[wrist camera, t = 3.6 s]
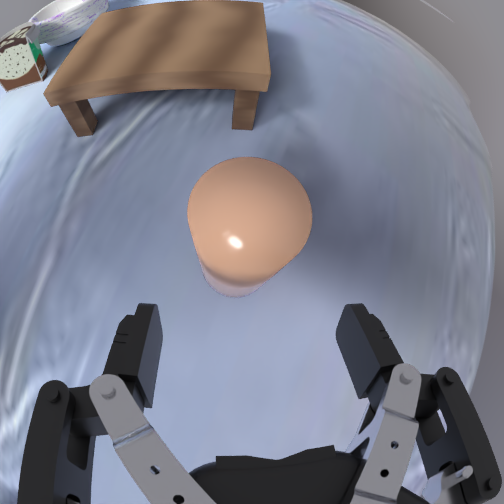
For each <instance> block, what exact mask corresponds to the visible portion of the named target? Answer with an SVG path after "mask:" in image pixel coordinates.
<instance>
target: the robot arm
mask: <svg viewBox="0 0 504 504" xmlns="http://www.w3.org/2000/svg"><path fill="white" fill-rule="evenodd" d="M162 340H163V334H162V327H161V322H160V316H159V311H158V306H157V304H145V303H139V304H138V306H137V309H136V312H135V315H126V317H125V318H124V319H123V320H122V321H121V322H120V323H119V326H118V329H117V331H116V335H115V337H114V340H113V343H112V346H111V349H110V352H109V355H108V359H107V362H106V365H105V368H104V371H103V374H102V375H101V376H99V377H97V378H96V379H95V380H94V381H93V382H92V383H91V385H88V386H83V387H75V388H68V387H67V386H66V385H65V384H64V383H63V382H61V381H58V380H52V381H49V382H47V383H45V384H44V385H43V386H42V387H41V389H40V391H39V394H38V397H37V400H36V404H35V407H34V411H33V414H32V418H31V422H30V426H29V430H28V435H27V439H26V444H25V449H24V454H23V460H22V466H21V473H20V481H19V490H18V502H17V504H91V481H92V468H93V457H94V448H95V440H96V436H99V435H108V434H109V436H110V437H111V439H112V441H113V447H114V449H115V451H116V453H117V454H118V456H119V458H120V459H121V461H122V463H123V464H124V466H125V467H126V469H127V470H128V472H129V474H130V475H131V477H132V478H133V479H134V481H135V482H136V484H137V485H138V487H139V488H140V489H141V491H142V492H143V494H144V495H145V496H146V498H147V499H148V500H149V502H150V503H151V504H482V503H484V502H486V501H488V500H490V499H492V498H494V497H495V496H496V495H497V494H498V492H499V491H500V488H501V484H502V479H501V474H500V471H499V468H498V465H497V462H496V459H495V456H494V454H493V451H492V448H491V446H490V443H489V440H488V438H487V435H486V433H485V431H484V428H483V425H482V423H481V421H480V419H479V417H478V414H477V412H476V410H475V407H474V405H473V403H472V401H471V399H470V397H469V395H468V393H467V391H466V389H465V387H464V385H463V383H462V381H461V379H460V377H459V375H458V374H457V372H456V371H454V370H453V369H451V368H449V367H442V368H440V369H439V370H438V371H437V372H436V374H435V375H430V374H420V373H419V371H418V370H417V369H416V368H415V367H413V366H412V365H410V364H405V363H404V362H403V361H402V359H401V357H400V355H399V353H398V351H397V349H396V348H395V346H394V344H393V342H392V340H391V338H389V335H388V333H387V331H385V328H384V326H383V324H382V323H381V321H380V320H379V319H378V318H377V317H375V316H374V315H373V314H369V312H368V311H367V309H366V307H365V306H364V304H362V303H360V304H347V305H345V307H344V310H343V312H342V315H341V318H340V320H339V323H338V326H337V329H336V340H337V343H338V346H339V348H340V351H341V353H342V356H343V359H344V361H345V364H346V366H347V369H348V372H349V374H350V377H351V380H352V382H353V385H354V388H355V390H356V393H357V396H358V398H359V399H362V398H367V397H368V399H369V403H368V404H367V407H366V409H365V412H364V414H363V417H362V419H361V422H360V424H359V427H358V429H357V432H356V434H355V436H354V438H353V440H352V441H351V443H350V444H349V446H348V447H347V449H346V451H345V452H341V451H335V448H334V445H330V446H325V447H320V448H314V449H307V450H305V451H302V452H299V453H297V454H294V455H291V456H289V457H286V458H283V459H280V460H273V459H265V458H258V457H252V456H216V462H211V463H208V464H205V465H202V466H200V467H198V468H196V469H194V470H193V471H191V472H190V473H188V472H187V471H186V470H185V469H184V467H183V466H182V465H181V464H180V463H179V461H178V460H177V459H176V458H175V456H174V455H173V454H172V453H171V451H170V450H169V449H168V447H167V446H166V445H165V443H164V442H163V441H162V439H161V438H160V437H159V435H158V434H157V432H156V431H155V430H154V428H153V427H152V426H151V425H150V423H149V422H148V421H147V419H146V418H145V416H144V415H143V411H144V407H146V408H152V404H153V397H154V390H155V383H156V377H157V370H158V364H159V358H160V353H161V347H162ZM439 409H440V410H441V412H442V414H443V417H444V419H445V422H446V424H447V431H446V433H445V430H444V428H443V425H442V422H441V420H440V417H439V415H438V413H437V411H438V410H439ZM415 439H416V442H417V445H418V448H419V451H420V454H421V457H422V461H423V464H424V467H425V471H426V474H427V478H428V481H427V483H426V487H425V488H424V489H423V491H422V495H423V496H424V497H425V500H424V499H423V498H421V497H419V496H418V495H416V494H414V493H412V492H411V491H409V490H408V489H406V488H404V487H403V486H401V485H402V482H403V479H404V476H405V473H406V470H407V467H408V464H409V461H410V458H411V454H412V451H413V447H414V443H415Z"/></svg>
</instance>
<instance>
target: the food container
mask: <svg viewBox="0 0 504 504" xmlns="http://www.w3.org/2000/svg"><path fill="white" fill-rule="evenodd" d="M39 33H40V29H39V28H38V27H37V26H36V24H33V22H27V23H24V24H22V25H20V26H18V27H16V28H14V29H13V30H11V31H9V32H8V33H7V34H5V35H4V36H2V37H1V38H0V84H1V86H2V87H3V88H4V90H5V91H6V92H10V91H13V90H16V89H19V88H22V87H25V86H29V85H32V84H36V83H39V82H43V81H44V79H45V78H46V76H47V73H48V69H47V65H46V62H45V60H44V57H43V54H42V50H41V47H40V44H39V41H38V35H39Z"/></svg>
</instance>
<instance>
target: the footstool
mask: <svg viewBox="0 0 504 504" xmlns="http://www.w3.org/2000/svg"><path fill="white" fill-rule="evenodd" d="M270 77H271V70H270V60H269V51H268V42H267V33H266V24H265V16H264V8H263V3H259V2H248V1H231V0H192V1H175V2H164V3H155V4H147V5H141V6H134V7H129V8H123V9H118V10H114V11H109V12H105V13H101V14H100V15H99V17H98V18H97V19H96V20H95V21H94V22H93V23H92V25H91V26H90V27H89V28H88V29H87V31H86V32H85V33H84V34H83V36H82V37H81V38H80V39H79V41H78V42H77V43H76V45H75V46H74V47H73V49H72V50H71V51H70V53H69V54H68V56H67V57H66V58H65V60H64V61H63V63H62V64H61V66H60V67H59V69H58V70H57V72H56V73H55V75H54V77H53V78H52V80H51V81H50V83H49V85H48V86H47V88H46V90H45V92H44V93H43V94H44V96H45V97H46V99H47V101H48V102H49V104H50V106H51V107H53V106H57V105H59V107H60V108H61V110H62V112H63V113H64V115H65V117H66V119H67V120H68V122H69V124H70V125H71V127H72V128H73V130H74V132H75V133H76V135H77V137H81V136H88V135H93V133H94V130H95V127H96V124H97V122H98V120H97V118H96V116H95V114H94V112H93V110H92V108H91V106H90V104H89V102H88V99H90V98H96V97H102V96H108V95H115V94H123V93H132V92H142V91H154V90H171V89H233V90H235V96H234V105H233V115H232V129H240V130H252V128H253V123H254V118H255V113H256V108H257V103H258V98H259V93H260V91H263V92H267V89H268V85H269V81H270Z"/></svg>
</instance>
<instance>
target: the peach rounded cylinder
mask: <svg viewBox="0 0 504 504" xmlns="http://www.w3.org/2000/svg"><path fill="white" fill-rule="evenodd" d="M187 216H188V224H189V227H190V231H191V234H192V238H193V241H194V245H195V248H196V252H197V255H198V259H199V262H200V265H201V269H202V272H203V275H204V277H205V280H206V281H207V283H208V284H209V285H210V287H211V288H212V289H214V290H215V291H216V292H218V293H220V294H222V295H224V296H227V297H235V298H236V297H244V296H247V295H250V294H252V293H253V292H255V291H256V290H257V289H259V288H260V287H261V286H262V285H263V284H264V283H266V282H267V281H268V280H269V279H270V278H271V277H273V276H274V275H275V274H276V273H277V272H278V271H279V270H281V269H282V268H283V267H284V266H285V265H286V264H287V263H289V262H290V261H291V260H292V259H293V258H294V257H295V256H296V255H297V254H298V253H299V252H300V251H301V250H302V248H303V247H304V245H305V243H306V242H307V239H308V237H309V235H310V231H311V227H312V209H311V204H310V201H309V198H308V195H307V193H306V191H305V189H304V188H303V186H302V185H301V183H300V182H299V181H298V179H297V178H296V177H295V176H294V175H293V174H291V173H290V172H289V171H288V170H286V169H285V168H283V167H282V166H280V165H278V164H276V163H274V162H271V161H269V160H266V159H261V158H255V157H239V158H233V159H229V160H226V161H223V162H221V163H219V164H217V165H215V166H213V167H212V168H210V169H209V170H208V171H207V172H205V173H204V174H203V175H202V176H201V178H200V179H199V180H198V181H197V183H196V184H195V186H194V188H193V190H192V192H191V194H190V198H189V201H188V208H187Z"/></svg>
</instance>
